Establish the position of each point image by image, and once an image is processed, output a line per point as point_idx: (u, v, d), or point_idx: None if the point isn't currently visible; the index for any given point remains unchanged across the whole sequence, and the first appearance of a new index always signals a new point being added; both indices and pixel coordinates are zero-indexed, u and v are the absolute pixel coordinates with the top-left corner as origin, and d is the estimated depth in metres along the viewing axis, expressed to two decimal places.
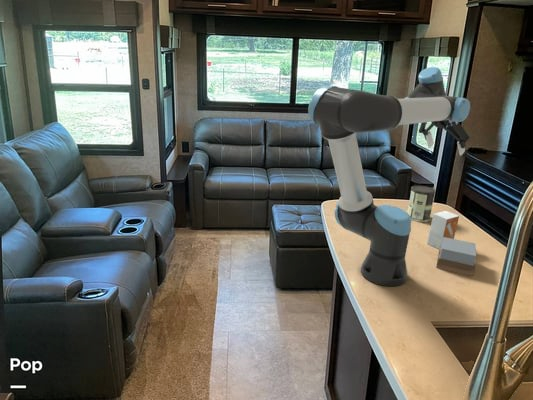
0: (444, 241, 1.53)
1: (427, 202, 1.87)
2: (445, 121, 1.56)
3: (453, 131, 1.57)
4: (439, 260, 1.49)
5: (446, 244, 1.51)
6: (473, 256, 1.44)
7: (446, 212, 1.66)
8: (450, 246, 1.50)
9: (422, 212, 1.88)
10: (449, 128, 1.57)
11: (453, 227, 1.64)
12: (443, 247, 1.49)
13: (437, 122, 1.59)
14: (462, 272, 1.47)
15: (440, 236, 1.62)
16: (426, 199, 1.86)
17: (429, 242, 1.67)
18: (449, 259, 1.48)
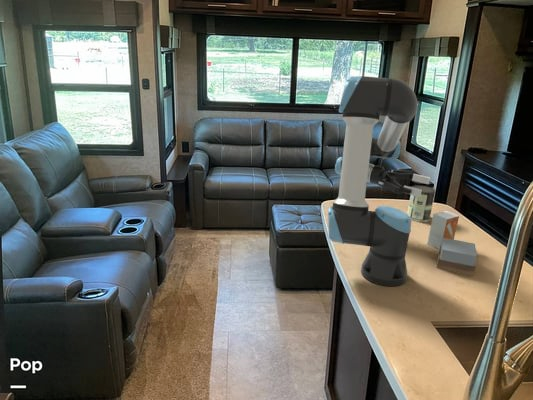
0: (443, 242, 1.53)
1: (427, 202, 1.87)
2: None
3: None
4: (439, 260, 1.49)
5: (446, 245, 1.51)
6: (474, 257, 1.44)
7: (446, 212, 1.66)
8: (450, 247, 1.49)
9: (422, 212, 1.88)
10: None
11: (453, 227, 1.64)
12: (444, 248, 1.48)
13: None
14: (462, 272, 1.47)
15: (440, 236, 1.63)
16: (426, 199, 1.86)
17: (429, 242, 1.67)
18: (450, 260, 1.47)
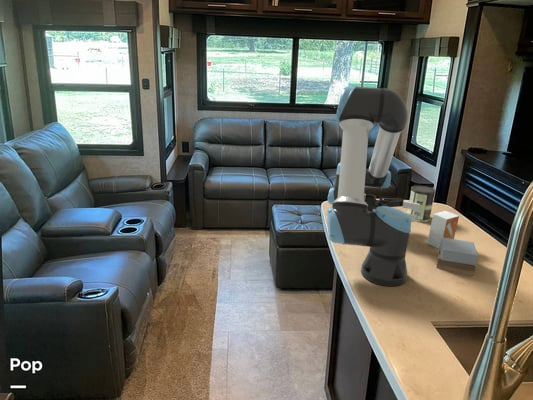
0: (443, 241, 1.53)
1: (427, 202, 1.87)
2: (379, 200, 1.77)
3: None
4: (439, 260, 1.49)
5: (446, 245, 1.50)
6: (474, 256, 1.44)
7: (446, 212, 1.66)
8: (450, 246, 1.49)
9: (422, 212, 1.88)
10: None
11: (453, 227, 1.64)
12: (444, 248, 1.48)
13: None
14: (462, 272, 1.47)
15: (440, 236, 1.62)
16: (426, 199, 1.86)
17: (429, 242, 1.67)
18: (451, 260, 1.47)
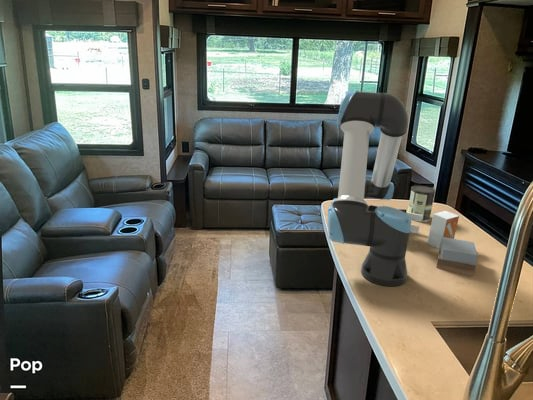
0: (443, 241, 1.53)
1: (427, 202, 1.87)
2: None
3: None
4: (439, 260, 1.49)
5: (446, 244, 1.51)
6: (474, 256, 1.44)
7: (446, 212, 1.66)
8: (450, 246, 1.49)
9: (422, 212, 1.88)
10: None
11: (453, 227, 1.64)
12: (444, 248, 1.48)
13: None
14: (462, 272, 1.47)
15: (440, 236, 1.62)
16: (426, 199, 1.86)
17: (429, 242, 1.67)
18: (451, 259, 1.48)
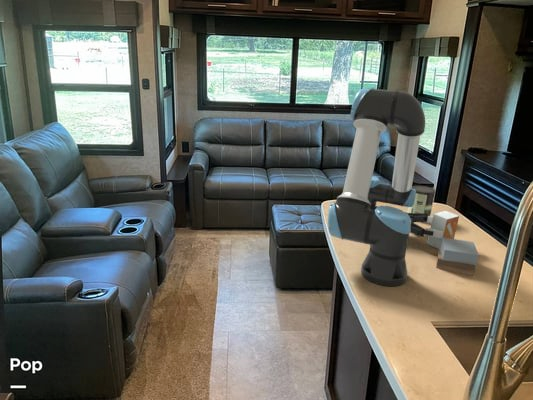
0: (444, 241, 1.53)
1: (427, 202, 1.87)
2: None
3: None
4: (439, 260, 1.49)
5: (447, 245, 1.51)
6: (476, 256, 1.45)
7: (446, 212, 1.66)
8: (451, 246, 1.49)
9: (422, 212, 1.88)
10: None
11: (453, 227, 1.64)
12: (445, 248, 1.48)
13: None
14: (462, 272, 1.47)
15: None
16: (426, 199, 1.86)
17: (429, 242, 1.67)
18: (452, 260, 1.47)
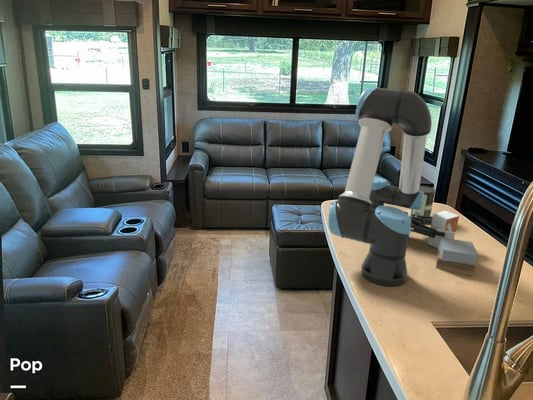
0: (442, 241, 1.53)
1: (427, 202, 1.87)
2: None
3: None
4: (439, 260, 1.49)
5: (446, 245, 1.50)
6: (474, 256, 1.44)
7: (446, 212, 1.66)
8: (450, 246, 1.49)
9: (422, 212, 1.88)
10: None
11: (453, 227, 1.64)
12: (444, 248, 1.48)
13: None
14: (462, 272, 1.47)
15: None
16: (426, 199, 1.86)
17: (429, 242, 1.67)
18: (451, 260, 1.47)
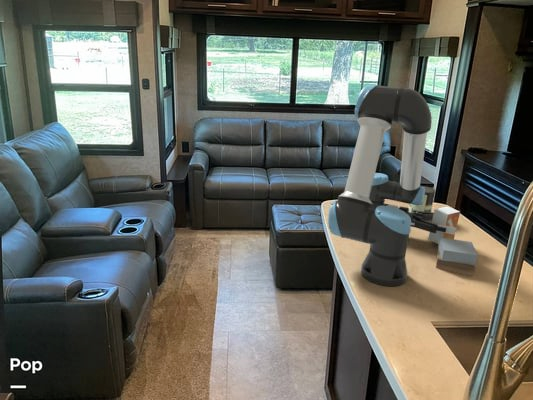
0: (442, 242, 1.53)
1: (427, 202, 1.87)
2: None
3: None
4: (439, 260, 1.49)
5: (446, 245, 1.51)
6: (474, 256, 1.45)
7: (447, 207, 1.66)
8: (450, 247, 1.49)
9: None
10: None
11: (454, 223, 1.64)
12: (444, 248, 1.48)
13: None
14: (462, 272, 1.47)
15: None
16: (426, 199, 1.86)
17: (430, 238, 1.67)
18: (451, 260, 1.47)
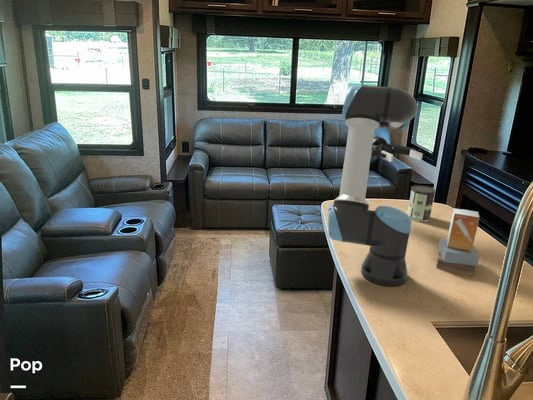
0: (443, 243, 1.52)
1: (427, 202, 1.87)
2: None
3: None
4: (439, 261, 1.49)
5: (447, 246, 1.50)
6: (476, 256, 1.44)
7: (473, 212, 1.47)
8: (452, 248, 1.49)
9: (422, 212, 1.88)
10: None
11: (470, 228, 1.44)
12: (446, 250, 1.47)
13: (383, 145, 1.72)
14: (462, 273, 1.47)
15: (450, 231, 1.48)
16: (426, 199, 1.86)
17: (447, 239, 1.53)
18: (453, 261, 1.47)
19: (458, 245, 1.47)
